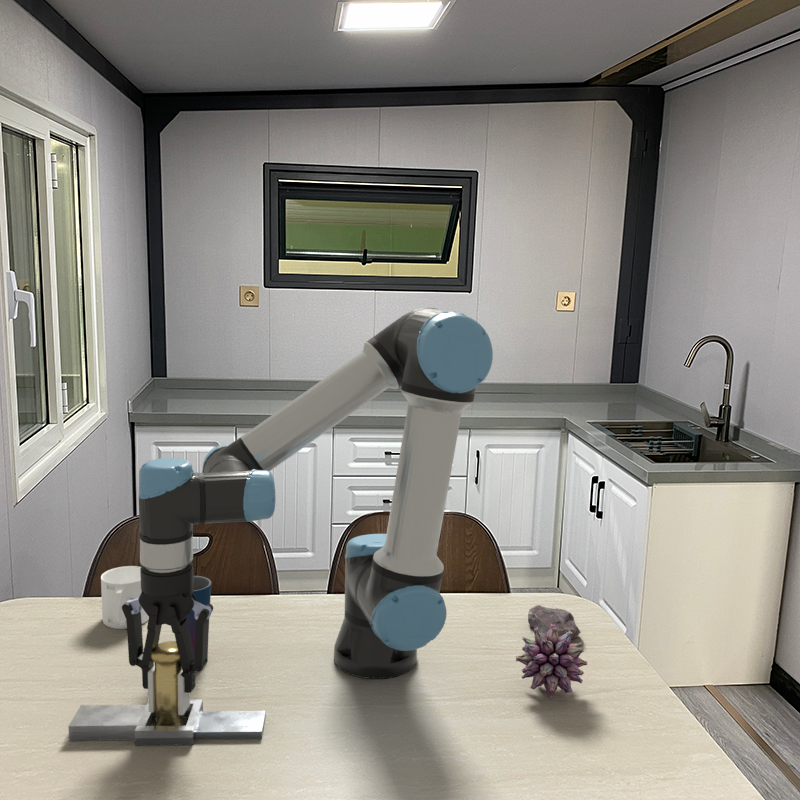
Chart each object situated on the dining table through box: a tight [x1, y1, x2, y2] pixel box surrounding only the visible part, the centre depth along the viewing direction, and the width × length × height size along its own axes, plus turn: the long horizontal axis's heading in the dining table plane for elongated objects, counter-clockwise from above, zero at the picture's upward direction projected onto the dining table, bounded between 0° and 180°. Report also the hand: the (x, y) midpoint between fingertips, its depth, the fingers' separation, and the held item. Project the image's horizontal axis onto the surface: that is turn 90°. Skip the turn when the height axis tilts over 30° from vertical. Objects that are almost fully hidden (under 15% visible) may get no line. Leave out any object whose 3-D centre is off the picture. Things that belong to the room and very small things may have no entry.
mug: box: [100, 565, 149, 630], centre depth 156 cm, size 12×9×9 cm
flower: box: [515, 624, 588, 699], centre depth 135 cm, size 12×12×12 cm
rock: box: [527, 604, 582, 640], centre depth 158 cm, size 8×11×5 cm
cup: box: [187, 575, 212, 656], centre depth 141 cm, size 7×7×15 cm
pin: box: [150, 640, 184, 726], centre depth 121 cm, size 5×5×13 cm
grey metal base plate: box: [67, 698, 267, 747], centre depth 122 cm, size 28×8×2 cm, turn 94°
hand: (169, 708), depth 121 cm, fingers closed on pin, 4 cm apart
